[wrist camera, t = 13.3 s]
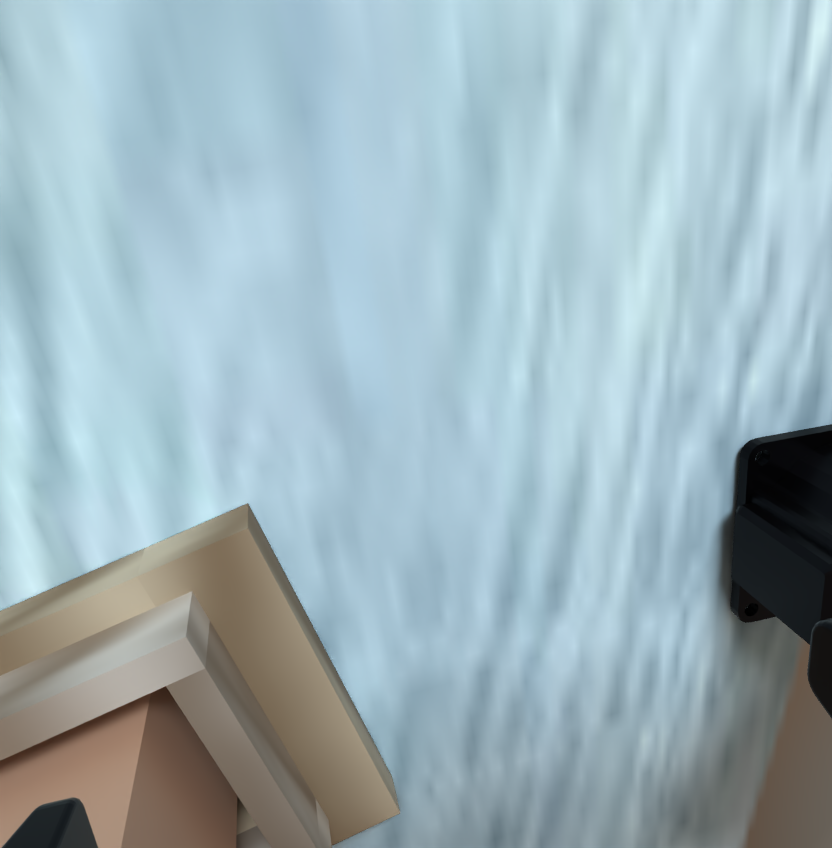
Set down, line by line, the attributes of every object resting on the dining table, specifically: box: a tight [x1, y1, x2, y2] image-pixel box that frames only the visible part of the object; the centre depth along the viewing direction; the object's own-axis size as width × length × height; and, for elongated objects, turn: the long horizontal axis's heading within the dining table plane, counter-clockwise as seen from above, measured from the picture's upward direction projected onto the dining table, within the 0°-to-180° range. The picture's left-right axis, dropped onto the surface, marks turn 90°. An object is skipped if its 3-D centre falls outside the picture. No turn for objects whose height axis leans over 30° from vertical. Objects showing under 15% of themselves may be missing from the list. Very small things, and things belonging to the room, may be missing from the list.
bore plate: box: [0, 504, 400, 848], centre depth 20 cm, size 13×11×4 cm
